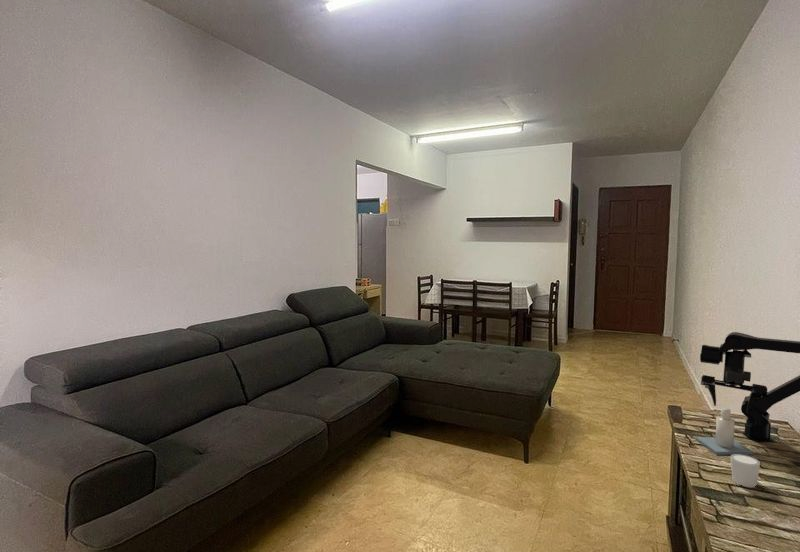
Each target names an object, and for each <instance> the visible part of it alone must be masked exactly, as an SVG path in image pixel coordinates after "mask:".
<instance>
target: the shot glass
mask: <svg viewBox="0 0 800 552" xmlns="http://www.w3.org/2000/svg"><path fill="white" fill-rule="evenodd" d="M730 466H731V467H730V468H731V478H732V481H733V482H734V483H735V484H737V485H739V486H741V485H742V487H745V488H756V487H757V486H756V485H757V484H758V478H759V472H760V466H761V462H760V461H759V460H758V459H756V458H755V457H752V456H751V455H741V454H733V455H730ZM755 486H756V487H755Z"/></svg>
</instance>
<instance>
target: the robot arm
mask: <svg viewBox="0 0 800 552" xmlns="http://www.w3.org/2000/svg"><path fill="white" fill-rule="evenodd" d="M749 350H765V351H774V352H782V353H783V352H784V353H793V354H800V341H799V340H787V339H777V338H767V337H759V336H758V337H757V336H753V335H750V334H747V333H743V332H738V331H734V332H729V334H727V335H726V337H725V339H724V342H723V343H721V344H720V345H719V346H713V345H708V344H702V345H701V350H700V355H699V356H700V357H699V360H700V363H703V364H710V365H711V364H712V365H717V366H718V365H720V363H723V362H724V366H723V377H722V378H723V379H722V380H719V379H716V377H715V376H712V375H706V374H705V375H702V376H701V379H700V385H701V386H704V388H705V389H708V392H709V394H710V396H711V399H712V403H713V405H714V407H716V406H717V396H716V394H717V393H716V386H720V387H725V388H726V387H727V388H730V389H737V390H741V391H747V392H750V393H749V395H747V396H744V399H743V401H742V404H741V407H740V411H741V413H742V415H744V416H745V417H747V419H745V420H746V421H745V424H744V432H742V435H743V436H746V437H747V438H749V439H751V440H752V441H755V442H775V439H773V438H771V427H772V425H771V424H772V422H770V413H769V412H768V410H769V409H770V408H771V407H772V406H774V405H776V404H777V403H779V402H782V401H783V400H785V399H787V398H790V397H791V396H793V395H795V394H798V393H799V392H800V374H799V375H798V376H795V377H793V378H792V379H790V380H788V381H786V382H784V383H782V384H780V385H778V386H777V387H775V388H773V389H771V390H769V391H768V387H767V385H763V384H757V383H752V385H747V384H745V382H751V375H752V374H751V371H746V370H745V359H746V358H752V353H750V352H749Z"/></svg>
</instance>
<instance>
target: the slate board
mask: <svg viewBox="0 0 800 552" xmlns="http://www.w3.org/2000/svg"><path fill="white" fill-rule="evenodd" d="M695 441H696V442H698V443H699V444H701V446H703V447H704V448H706V449H707V450H708V451H710V452H712V453H713V454H715V455H716V456H717V455H718V456H719V455H722V456H725V455H729V456H731V455H733V454H741V455H745V454H748V455H747V456H750V455H749V454H753V455H754V451H753V450H752V449H749V448H748V447H746V446H745V445H743V444H742V443H739V442H738V441H737V440H735V439H734V447H733V448H726V447H721V446H719V445H717V444H716V436H715V437H712V436H707V437H706V436H704V437H703V436H701V437H700V436H696V437H695ZM753 455H752V456H753Z"/></svg>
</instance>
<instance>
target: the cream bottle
mask: <svg viewBox="0 0 800 552" xmlns="http://www.w3.org/2000/svg"><path fill="white" fill-rule="evenodd" d="M715 420H716V421H715V422H716V423H715V437H716V444H717V445H719V446H721V447H726V448H733V447H734V440H735V419H733V418H731V409H730V408H727V407H720V416H716V418H715Z"/></svg>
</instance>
